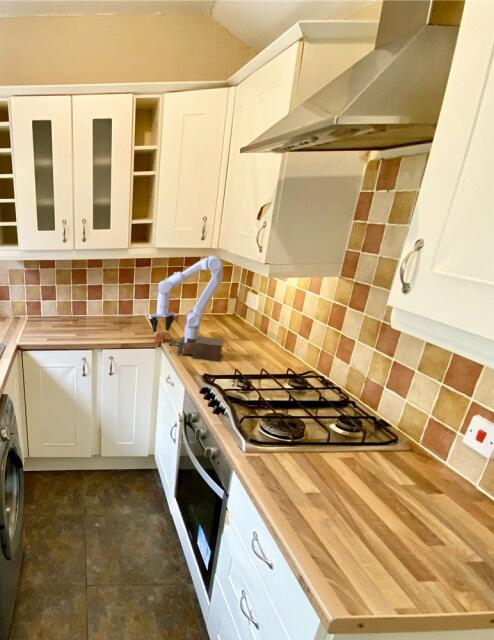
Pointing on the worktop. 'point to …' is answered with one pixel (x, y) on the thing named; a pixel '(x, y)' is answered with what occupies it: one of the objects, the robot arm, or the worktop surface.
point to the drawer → (184, 345)
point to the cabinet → (208, 348)
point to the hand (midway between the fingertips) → (160, 331)
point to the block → (160, 337)
